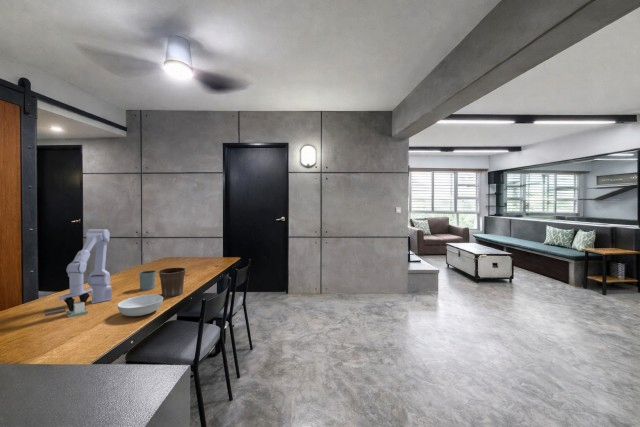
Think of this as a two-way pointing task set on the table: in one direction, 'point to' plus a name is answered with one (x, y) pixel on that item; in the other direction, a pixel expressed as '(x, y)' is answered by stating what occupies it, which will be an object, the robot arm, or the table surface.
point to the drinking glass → (147, 280)
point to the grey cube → (78, 307)
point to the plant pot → (172, 281)
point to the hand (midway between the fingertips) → (77, 309)
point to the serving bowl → (140, 305)
